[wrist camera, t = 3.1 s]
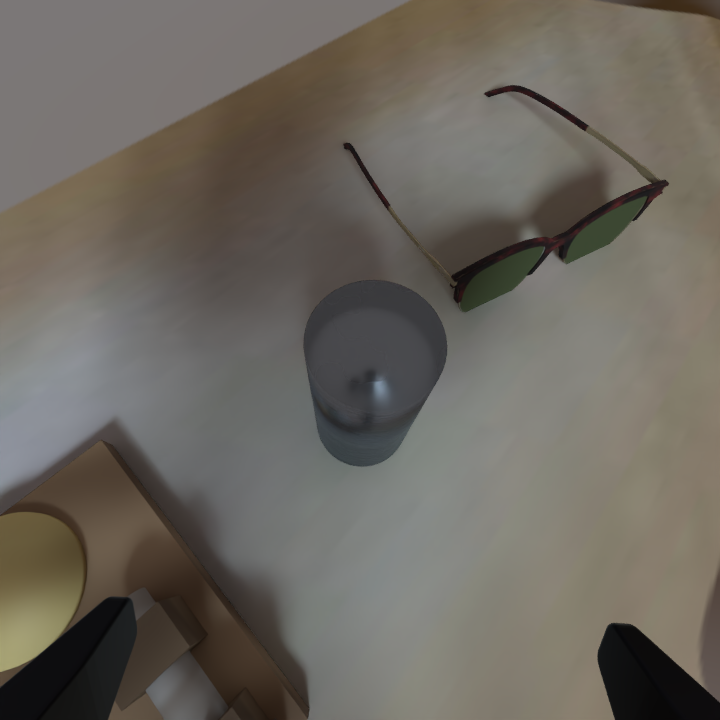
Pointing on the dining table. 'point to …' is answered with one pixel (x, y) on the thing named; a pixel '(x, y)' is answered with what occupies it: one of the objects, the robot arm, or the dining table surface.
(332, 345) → the silver metal cylinder
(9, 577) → the door lock
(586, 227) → the sunglasses
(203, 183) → the dining table surface
